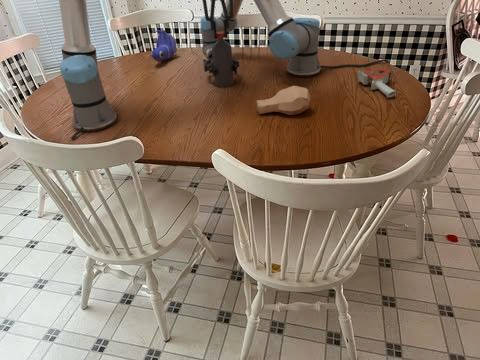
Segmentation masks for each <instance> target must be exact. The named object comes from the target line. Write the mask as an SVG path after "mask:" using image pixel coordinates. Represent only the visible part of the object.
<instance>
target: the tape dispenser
mask: <svg viewBox="0 0 480 360" xmlns="http://www.w3.org/2000/svg"><path fill="white" fill-rule="evenodd" d="M377 71H378V72H377ZM375 72H377V74H374V73H375ZM391 77H392V70H391V69H390V68H388V67H387V66H386V67H377V68H373V69H372V68H371V69H366V70H358V71H357V82H361V83H362V85H367V86H368V85H369V83H370V82H371V84H370V85H371V86H370V90H371V91H375V90H379V91H380V92H381V93H382V94H384V95H385V96H386V98H387V99H389V98H390V99H391V98H392V97H394V96H395V95H396V90H395V89H392V88H391V87H389V86H388V85H387V84H388V83H389V82H390V80H391Z"/></svg>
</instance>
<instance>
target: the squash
mask: <svg viewBox="0 0 480 360" xmlns="http://www.w3.org/2000/svg"><path fill="white" fill-rule="evenodd" d="M311 98H312V97H311V95H310V90H309V89H307V88H306V87H302V86H298V85H292V86H289V87H287V88H283V89H280V90H279V91H277V92H276V94H275V95H274V96H272V97H271V98H265V99H257V100H256V102H255V103H256V107H257V109H256V110H257V113H258V114H259V115H263V114H266V113H273V112H275V113H282V114H284V115H287V116H295V115H300V114H301V113H303V112H305V111H306V110H308V109H309V107H310V102H311Z"/></svg>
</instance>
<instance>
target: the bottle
mask: <svg viewBox="0 0 480 360" xmlns="http://www.w3.org/2000/svg"><path fill="white" fill-rule="evenodd" d="M212 57H213V67H214V68H215V70H216V76H214V75H213V77H214V85H215V86H216V87H220V88H221V87H222V88H224V87H230V86H233V85H234V83H235V79H234V71H233V63H232V57H233V50H232V45H231V43H229V42H228V41H226V40H225V38H220V39H219V38H218V41H217V42H216V43H215V44H214V45H213V46H212Z"/></svg>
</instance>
